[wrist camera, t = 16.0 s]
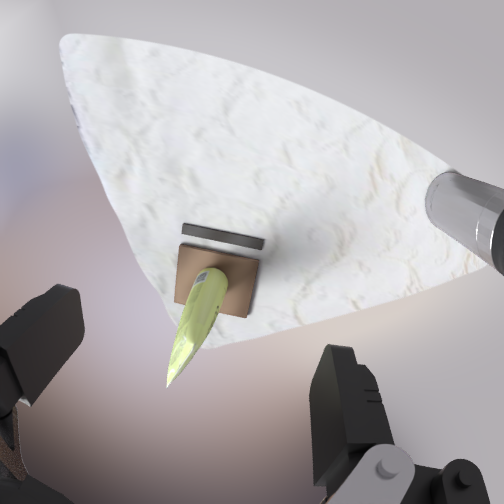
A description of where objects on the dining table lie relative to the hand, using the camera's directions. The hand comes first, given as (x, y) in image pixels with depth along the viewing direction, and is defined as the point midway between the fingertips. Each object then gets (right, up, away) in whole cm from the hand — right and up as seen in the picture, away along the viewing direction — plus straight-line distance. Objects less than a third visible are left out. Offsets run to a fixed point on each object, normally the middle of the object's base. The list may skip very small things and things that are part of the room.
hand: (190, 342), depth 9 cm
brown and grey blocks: (-4, 0, +38) cm, 38 cm away
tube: (-4, -2, +38) cm, 38 cm away
